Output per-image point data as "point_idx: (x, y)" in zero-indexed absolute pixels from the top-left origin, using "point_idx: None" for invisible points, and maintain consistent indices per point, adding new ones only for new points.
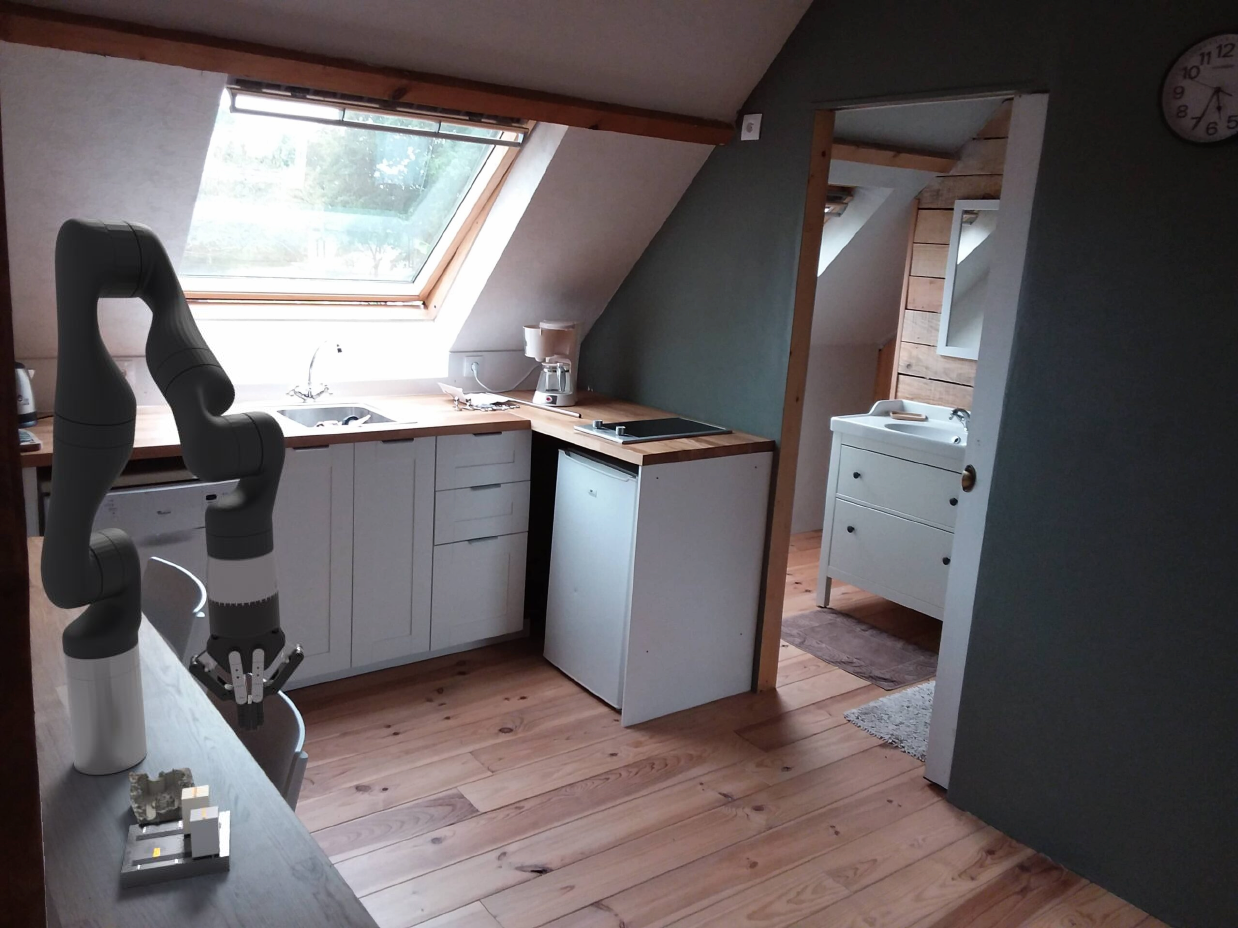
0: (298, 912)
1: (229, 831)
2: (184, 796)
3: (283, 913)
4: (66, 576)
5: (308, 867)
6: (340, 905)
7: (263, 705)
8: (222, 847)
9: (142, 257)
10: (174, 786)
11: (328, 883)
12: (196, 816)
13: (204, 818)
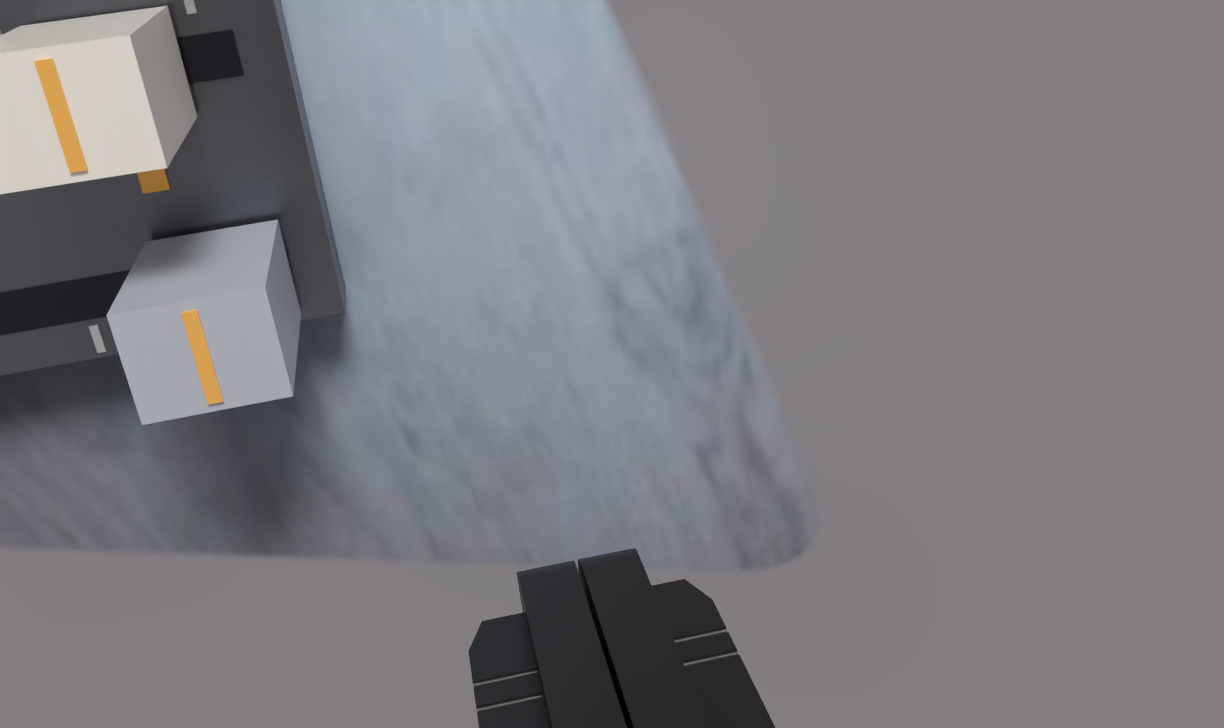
0: (649, 541)
1: (299, 114)
2: (4, 163)
3: (598, 544)
4: None
5: (674, 299)
6: (789, 515)
7: (747, 677)
8: (298, 248)
9: None
10: None
11: (751, 400)
12: (165, 384)
13: (220, 405)
